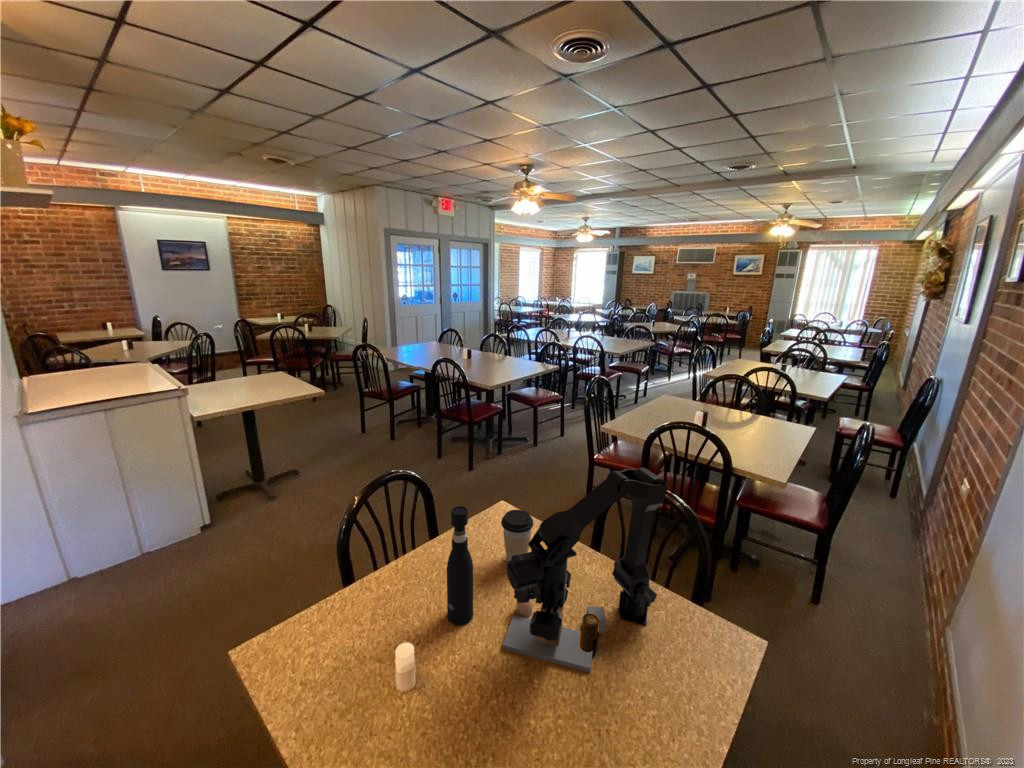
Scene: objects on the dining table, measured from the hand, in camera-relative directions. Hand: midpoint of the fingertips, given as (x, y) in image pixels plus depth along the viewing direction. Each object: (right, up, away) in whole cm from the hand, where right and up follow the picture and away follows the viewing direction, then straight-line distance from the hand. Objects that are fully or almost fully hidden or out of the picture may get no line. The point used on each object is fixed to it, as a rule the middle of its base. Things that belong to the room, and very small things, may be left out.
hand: (550, 630), depth 97 cm
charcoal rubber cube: (+12, -3, +6) cm, 14 cm away
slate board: (0, -4, +1) cm, 4 cm away
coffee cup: (-8, +4, +29) cm, 30 cm away
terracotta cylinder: (-6, -1, +10) cm, 12 cm away
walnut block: (0, -1, 0) cm, 1 cm away
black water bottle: (-22, -1, +8) cm, 23 cm away
